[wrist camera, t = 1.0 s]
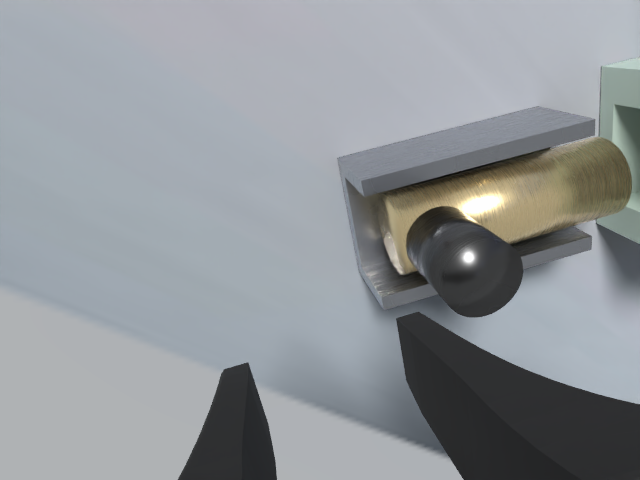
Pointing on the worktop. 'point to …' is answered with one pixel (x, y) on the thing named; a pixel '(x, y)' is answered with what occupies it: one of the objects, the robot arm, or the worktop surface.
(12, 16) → the worktop surface
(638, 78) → the socket
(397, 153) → the grey u channel
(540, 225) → the sliding bolt
